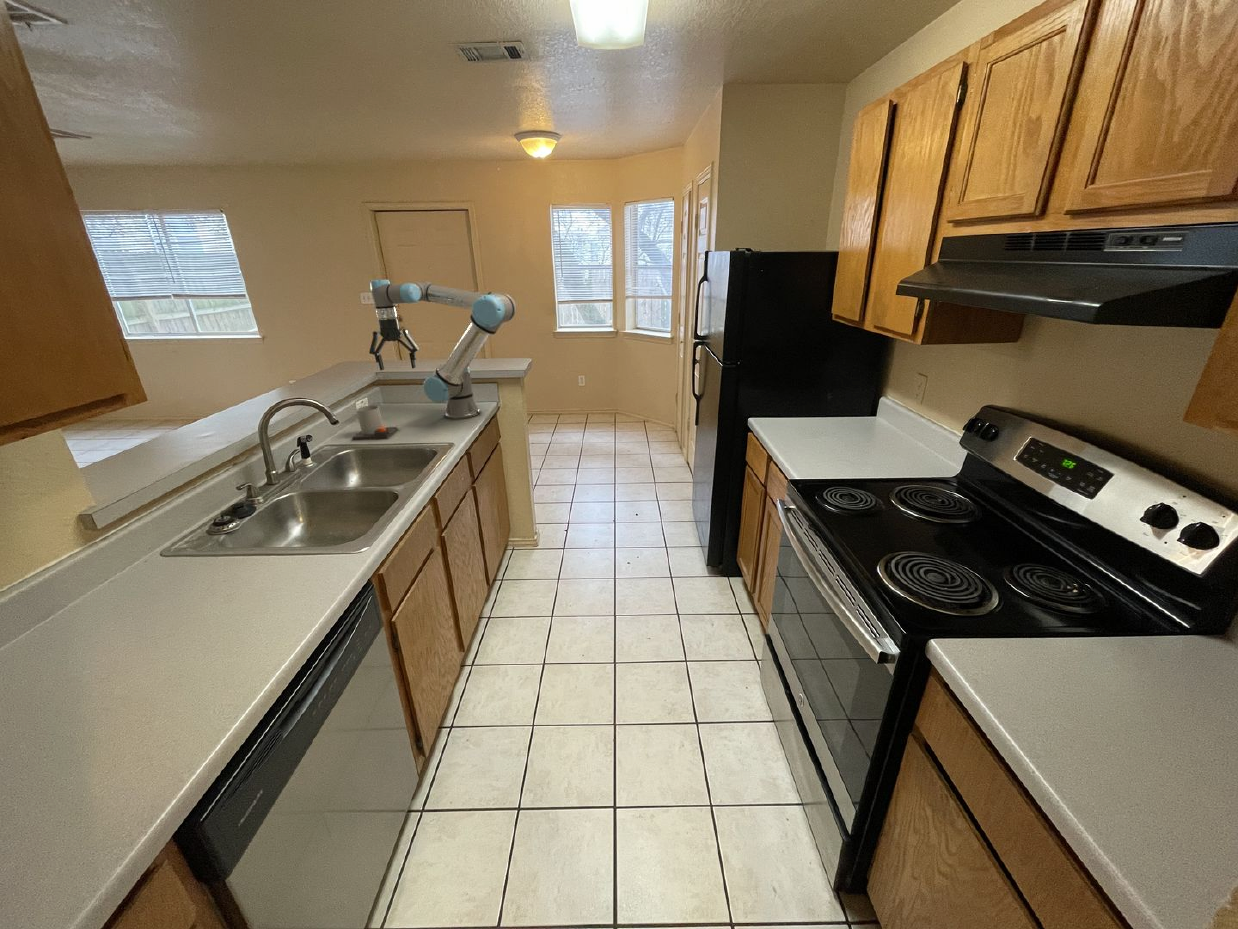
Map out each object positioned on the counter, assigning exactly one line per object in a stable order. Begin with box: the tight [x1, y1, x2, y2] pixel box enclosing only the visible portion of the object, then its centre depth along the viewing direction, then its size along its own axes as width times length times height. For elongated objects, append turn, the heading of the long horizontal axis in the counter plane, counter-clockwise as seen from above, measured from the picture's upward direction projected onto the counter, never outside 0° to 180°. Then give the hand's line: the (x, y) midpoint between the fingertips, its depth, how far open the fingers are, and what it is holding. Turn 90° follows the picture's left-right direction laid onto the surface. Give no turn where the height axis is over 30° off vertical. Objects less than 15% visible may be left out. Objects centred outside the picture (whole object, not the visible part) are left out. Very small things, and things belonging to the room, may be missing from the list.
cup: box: [356, 405, 384, 435], centre depth 212 cm, size 8×8×10 cm
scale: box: [352, 426, 399, 441], centre depth 213 cm, size 14×12×3 cm
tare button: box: [378, 426, 387, 432], centre depth 209 cm, size 3×3×2 cm
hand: (398, 368), depth 221 cm, fingers open, 13 cm apart
